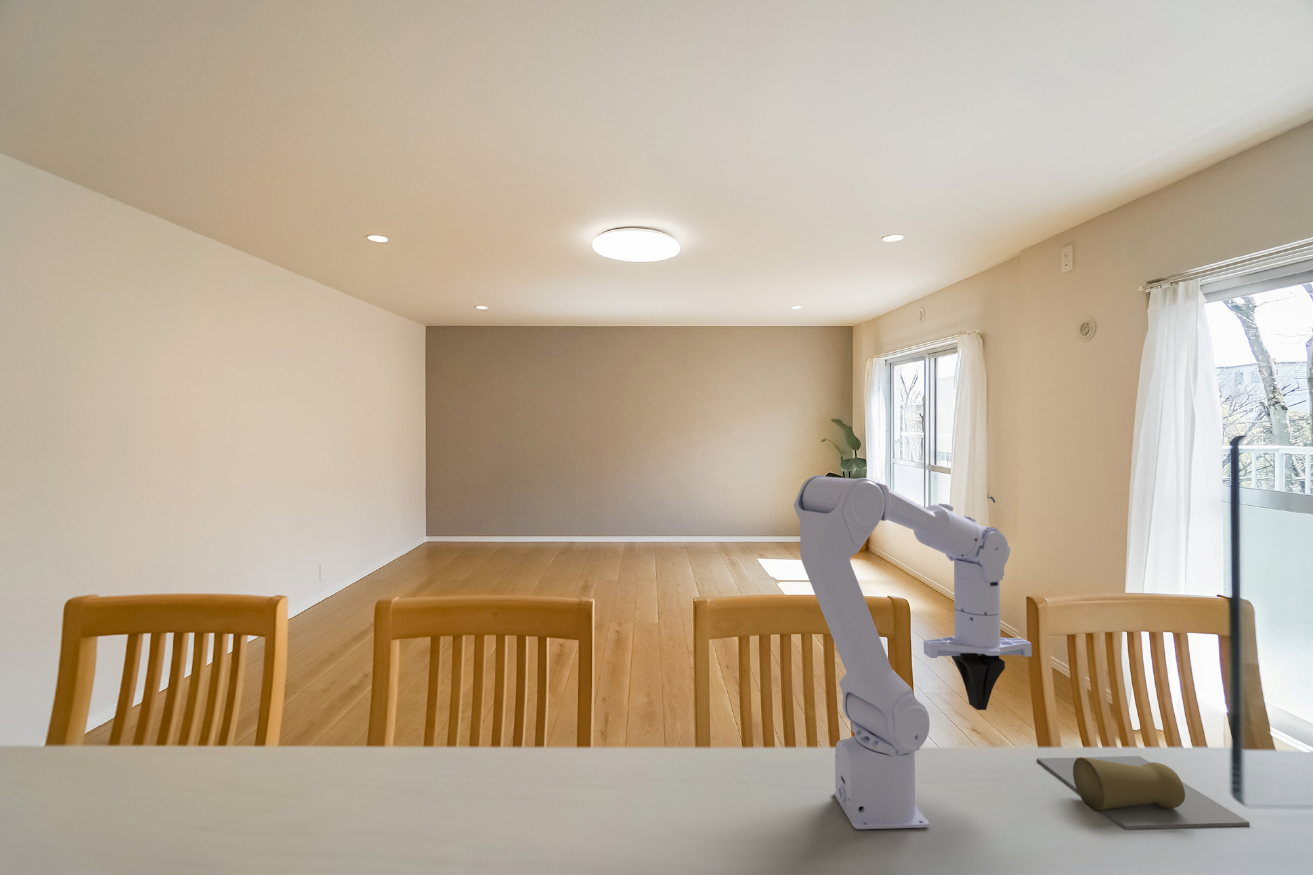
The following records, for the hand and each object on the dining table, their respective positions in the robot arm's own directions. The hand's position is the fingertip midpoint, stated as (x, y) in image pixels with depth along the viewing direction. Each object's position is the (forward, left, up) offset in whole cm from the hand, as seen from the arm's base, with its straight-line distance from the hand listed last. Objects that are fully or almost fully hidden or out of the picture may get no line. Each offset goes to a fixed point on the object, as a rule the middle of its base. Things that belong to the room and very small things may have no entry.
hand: (977, 706), depth 84 cm
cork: (+11, -6, -7) cm, 15 cm away
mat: (+20, -3, -10) cm, 23 cm away
